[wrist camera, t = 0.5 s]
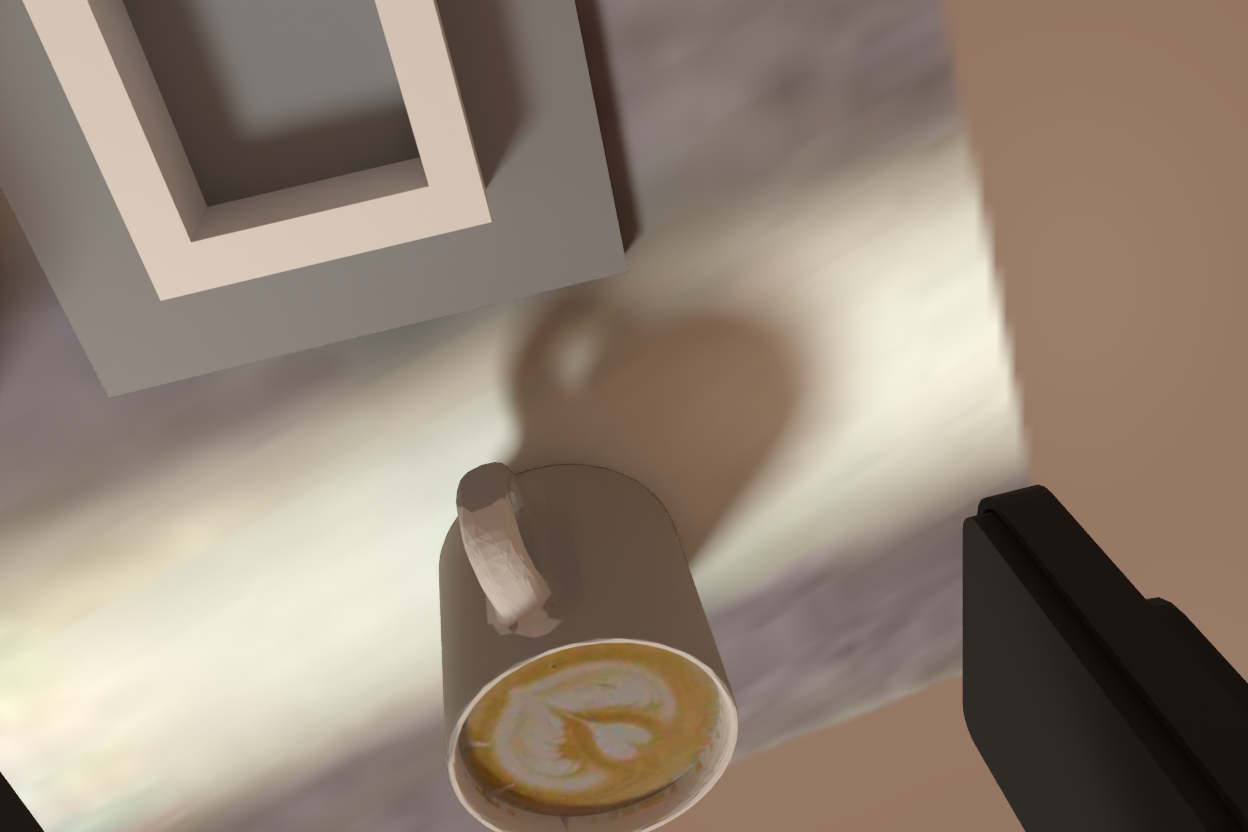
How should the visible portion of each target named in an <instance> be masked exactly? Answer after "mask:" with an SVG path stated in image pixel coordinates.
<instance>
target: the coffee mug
mask: <svg viewBox="0 0 1248 832" xmlns="http://www.w3.org/2000/svg"><path fill="white" fill-rule="evenodd" d="M456 504H457V511H458V518H457V519H456V521H455V522H454V524H453V525H452V527H451V529H450V530H449V532H448V534H447V536H446V539H445V542H444V544H443V547H442V550H441V554H440V561H439V589H440V615H441V642H442V669H443V696H444V723H445V749H446V762H447V770H448V775H449V779H450V782H451V784H452V787H453V790H454V792H455V794H456V795H457V797H458V799H459V800H460V802H461V803H462V804H463V805H464V807H465V808H466V809H467V810H468V811H469V812H470V813H471V814H472V815H473V816H474V817H475V818H476V819H477V820H479V821H480V822H481V823H482V824H484V825H485V826H487V827H488V828H490V829H492V830H494V831H496V832H649V831H651V830H653V829H655V828H657V827H659V826H662V825H664V824H665V823H667V822H669V821H671V820H672V819H674V818H676V817H677V816H679V815H681V814H682V813H684V812H685V811H686V810H688V809H689V808H690V807H692V806H693V805H694V804H695V803H696V802H698V801H699V800H700V799H701V798H702V797H703V796H704V795H705V794H706V793H707V792H708V791H709V790H710V789H711V788H712V787H713V785H714V784H715V783H716V782H717V781H718V779H719V778H720V777H721V776H722V774H723V772H724V771H725V769H726V767H727V765H728V764H729V762H730V760H731V757H732V754H733V751H734V748H735V745H736V742H737V733H738V714H737V707H736V703H735V700H734V696H733V692H732V689H731V687H730V684H729V681H728V678H727V675H726V672H725V670H724V667H723V664H722V661H721V658H720V655H719V652H718V650H717V647H716V644H715V641H714V638H713V635H712V632H711V630H710V627H709V624H708V621H707V618H706V615H705V613H704V610H703V607H702V604H701V601H700V598H699V595H698V593H697V590H696V587H695V584H694V581H693V578H692V576H691V573H690V570H689V567H688V564H687V561H686V558H685V556H684V553H683V550H682V547H681V544H680V541H679V539H678V536H677V533H676V530H675V527H674V524H673V522H672V520H671V518H670V516H669V514H668V512H667V511H666V509H665V507H664V506H663V505H662V503H661V502H660V501H659V500H658V499H657V498H656V497H655V496H654V495H653V494H652V493H651V492H650V491H649V490H647V489H646V488H645V487H644V486H643V485H641V484H640V483H638V482H637V481H635V480H633V479H631V478H629V477H627V476H625V475H623V474H620V473H618V472H615V471H612V470H609V469H605V468H600V467H594V466H588V465H573V464H563V465H555V466H547V467H542V468H537V469H533V470H529V471H526V472H523V473H520V474H517V475H514V474H513V473H512V472H511V470H510V469H509V468H508V467H507V466H505V465H504V464H502V463H496V462H494V463H489V464H484V465H481V466H479V467H477V468H475V469H473V470H471V471H469V472H467V473H466V474H465V475H464V476H463V478H462V479H461V480H460V483H459V486H458V490H457V498H456Z"/></svg>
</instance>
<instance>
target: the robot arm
mask: <svg viewBox="0 0 1248 832" xmlns="http://www.w3.org/2000/svg"><path fill="white" fill-rule="evenodd" d="M963 711H964V716H965V721H966V724H967V727H968V730H969V732H970V735H971V737H972V739H973V741H974V743H975V745H976V747H977V749H978V750H979V752H980V754H981V756H982V757H983V759H984V761H985V763H986V764H987V766H988V768H989V769H990V771H991V773H992V775H993V776H994V778H995V780H996V782H997V783H998V785H999V787H1000V788H1001V790H1002V792H1003V794H1004V795H1005V797H1006V799H1007V801H1008V802H1009V804H1010V806H1011V807H1012V809H1013V811H1014V813H1015V814H1016V816H1017V818H1018V820H1019V821H1020V823H1021V825H1022V826H1023V828H1024V830H1025V831H1026V832H1248V683H1247V682H1246V681H1245V680H1244V679H1243V678H1242V677H1241V676H1240V674H1238V672H1237V671H1236V670H1235V669H1234V668H1233V667H1232V666H1231V665H1230V663H1229V662H1228V661H1227V660H1226V659H1225V658H1224V657H1223V656H1222V655H1221V654H1220V653H1219V652H1218V651H1217V649H1216V648H1215V647H1214V646H1213V645H1212V644H1211V643H1210V642H1209V641H1208V639H1207V638H1206V637H1205V636H1204V635H1203V634H1202V633H1201V632H1200V631H1199V630H1198V629H1197V627H1196V626H1195V625H1194V624H1193V623H1192V622H1191V621H1190V620H1189V619H1188V618H1187V616H1186V615H1185V614H1183V613H1182V612H1181V611H1180V610H1179V609H1178V608H1177V607H1176V606H1174V605H1173V604H1172V603H1171V602H1168V601H1166V600H1164V599H1161V598H1150V599H1145V598H1144V597H1143V596H1142V595H1141V593H1140V592H1139V591H1138V590H1137V589H1136V588H1135V587H1134V585H1133V584H1132V583H1131V582H1130V581H1129V580H1128V579H1127V577H1125V575H1124V574H1123V573H1122V572H1121V571H1120V570H1119V568H1118V567H1117V566H1116V565H1115V564H1114V563H1113V562H1112V561H1111V559H1110V558H1109V557H1108V556H1107V555H1106V554H1105V553H1104V551H1102V549H1101V548H1100V547H1099V546H1098V545H1097V544H1096V543H1095V541H1094V540H1093V539H1092V538H1091V537H1090V536H1089V535H1088V534H1087V532H1086V531H1085V530H1084V529H1083V528H1082V527H1081V525H1080V524H1079V523H1078V522H1077V521H1076V520H1075V519H1074V518H1073V516H1072V515H1071V514H1070V513H1069V512H1068V511H1067V510H1066V508H1065V507H1064V506H1063V505H1062V504H1061V503H1060V502H1059V501H1058V500H1057V498H1056V497H1055V496H1054V495H1053V494H1052V493H1051V492H1050V491H1049V490H1048V489H1047V488H1045V487H1044V486H1041V485H1035V486H1031V487H1026V488H1022V489H1018V490H1014V491H1010V492H1006V493H1002V494H998V495H994V496H990V497H986V498H984V499H982V500H981V501H980V503H979V505H978V513H977V515H976V516H972V517H969V518H966V519H965V521H964V523H963ZM0 832H44V831H43V829H42V828H41V826H40V825H39V824H38V822H37V821H36V820H35V818H34V817H33V816H32V814H31V813H30V811H29V810H28V809H27V807H26V806H25V805H24V803H23V802H22V801H21V799H20V798H19V796H18V795H17V794H16V792H15V791H14V790H13V788H12V787H11V786H10V784H9V783H8V781H7V780H6V779H5V777H4V776H3V775H2V773H1V772H0Z"/></svg>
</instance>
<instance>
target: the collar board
mask: <svg viewBox="0 0 1248 832" xmlns="http://www.w3.org/2000/svg"><path fill="white" fill-rule="evenodd" d="M0 188H1V190H2V192H3V194H4V196H5V198H6V200H7V202H8V203H9V205H10V207H11V209H12V211H13V213H14V215H15V217H16V219H17V221H18V223H19V225H20V227H21V229H22V231H23V233H24V234H25V236H26V238H27V240H28V242H29V244H30V246H31V248H32V250H33V252H34V254H35V256H36V258H37V260H38V262H39V264H40V265H41V267H42V269H43V271H44V273H45V275H46V277H47V279H48V281H49V283H50V285H51V287H52V289H53V291H54V293H55V294H56V296H57V298H58V300H59V302H60V304H61V306H62V308H63V310H64V312H65V314H66V316H67V318H68V320H69V322H70V324H71V325H72V327H73V329H74V331H75V333H76V335H77V337H78V339H79V341H80V343H81V345H82V347H83V349H84V351H85V353H86V354H87V356H88V358H89V360H90V362H91V364H92V366H93V368H94V370H95V372H96V374H97V376H98V378H99V380H100V382H101V384H102V385H103V387H104V389H105V391H106V393H107V395H108V397H112V396H116V395H121V394H125V393H129V392H133V391H137V390H141V389H145V388H149V387H154V386H158V385H162V384H166V383H170V382H174V381H178V380H183V379H187V378H191V377H195V376H199V375H203V374H207V373H211V372H216V371H220V370H224V369H228V368H232V367H236V366H240V365H245V364H249V363H253V362H257V361H261V360H265V359H269V358H273V357H278V356H282V355H286V354H290V353H294V352H298V351H302V350H307V349H311V348H315V347H319V346H323V345H327V344H331V343H335V342H340V341H344V340H348V339H352V338H356V337H360V336H364V335H369V334H373V333H377V332H381V331H385V330H389V329H393V328H397V327H402V326H406V325H410V324H414V323H418V322H422V321H426V320H431V319H435V318H439V317H443V316H447V315H451V314H455V313H460V312H464V311H468V310H472V309H476V308H480V307H484V306H488V305H493V304H497V303H501V302H505V301H509V300H513V299H517V298H522V297H526V296H530V295H534V294H538V293H542V292H546V291H550V290H555V289H559V288H563V287H567V286H571V285H575V284H579V283H584V282H588V281H592V280H596V279H600V278H604V277H608V276H612V275H617V274H621V273H625V272H628V269H627V264H626V259H625V254H624V249H623V244H622V239H621V234H620V229H619V224H618V218H617V213H616V208H615V203H614V198H613V193H612V188H611V183H610V178H609V173H608V168H607V163H606V158H605V152H604V147H603V142H602V137H601V132H600V127H599V122H598V117H597V112H596V107H595V102H594V97H593V92H592V86H591V81H590V76H589V71H588V66H587V61H586V56H585V51H584V46H583V41H582V36H581V31H580V26H579V21H578V15H577V10H576V5H575V0H0Z"/></svg>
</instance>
